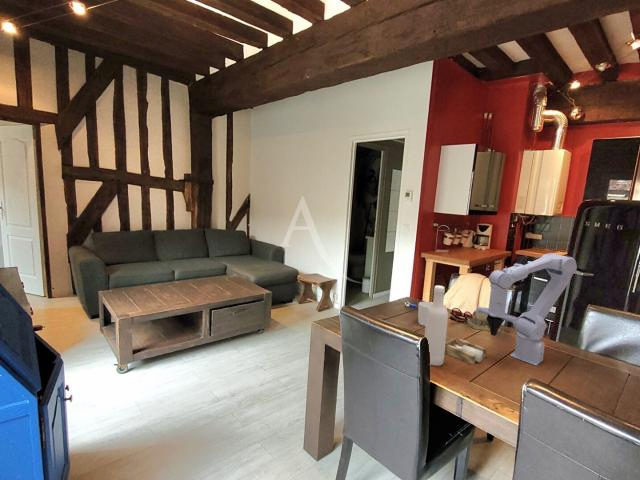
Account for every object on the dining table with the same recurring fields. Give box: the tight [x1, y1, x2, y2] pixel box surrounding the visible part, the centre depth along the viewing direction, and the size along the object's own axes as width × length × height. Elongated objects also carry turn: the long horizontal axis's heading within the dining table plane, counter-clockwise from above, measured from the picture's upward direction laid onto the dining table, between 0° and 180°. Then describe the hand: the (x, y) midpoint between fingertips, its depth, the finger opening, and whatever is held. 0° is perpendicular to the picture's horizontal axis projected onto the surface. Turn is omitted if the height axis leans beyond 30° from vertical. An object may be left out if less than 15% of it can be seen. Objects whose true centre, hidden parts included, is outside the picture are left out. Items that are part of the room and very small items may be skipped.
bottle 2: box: [454, 343, 483, 363], centre depth 132 cm, size 5×5×10 cm
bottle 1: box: [424, 284, 449, 367], centre depth 127 cm, size 8×8×30 cm
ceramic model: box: [466, 310, 501, 333], centre depth 163 cm, size 14×11×10 cm
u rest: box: [445, 337, 487, 366], centre depth 135 cm, size 14×11×4 cm
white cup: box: [417, 301, 433, 327], centre depth 165 cm, size 8×8×10 cm
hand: (493, 334), depth 130 cm, fingers closed
